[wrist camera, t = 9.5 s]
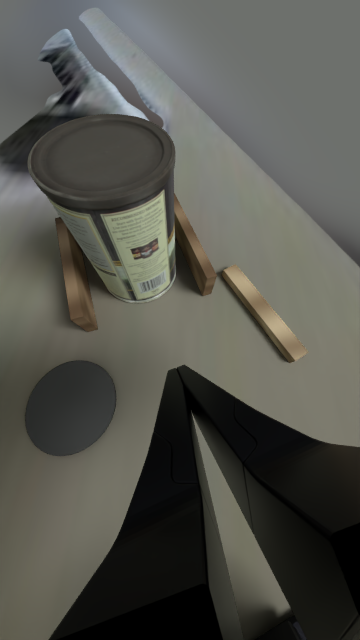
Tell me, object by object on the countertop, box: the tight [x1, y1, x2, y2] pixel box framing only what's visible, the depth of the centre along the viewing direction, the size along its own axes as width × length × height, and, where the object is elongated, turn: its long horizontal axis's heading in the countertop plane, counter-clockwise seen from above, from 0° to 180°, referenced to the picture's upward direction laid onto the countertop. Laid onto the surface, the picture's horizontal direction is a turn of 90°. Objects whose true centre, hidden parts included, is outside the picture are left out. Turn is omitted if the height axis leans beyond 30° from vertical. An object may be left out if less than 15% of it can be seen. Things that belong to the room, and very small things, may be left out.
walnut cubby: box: [55, 193, 217, 332], centre depth 25 cm, size 15×16×4 cm
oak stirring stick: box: [222, 264, 308, 363], centre depth 24 cm, size 14×2×2 cm, turn 30°
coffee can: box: [28, 114, 176, 303], centre depth 20 cm, size 10×10×14 cm
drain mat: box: [25, 361, 116, 456], centre depth 20 cm, size 9×9×1 cm
